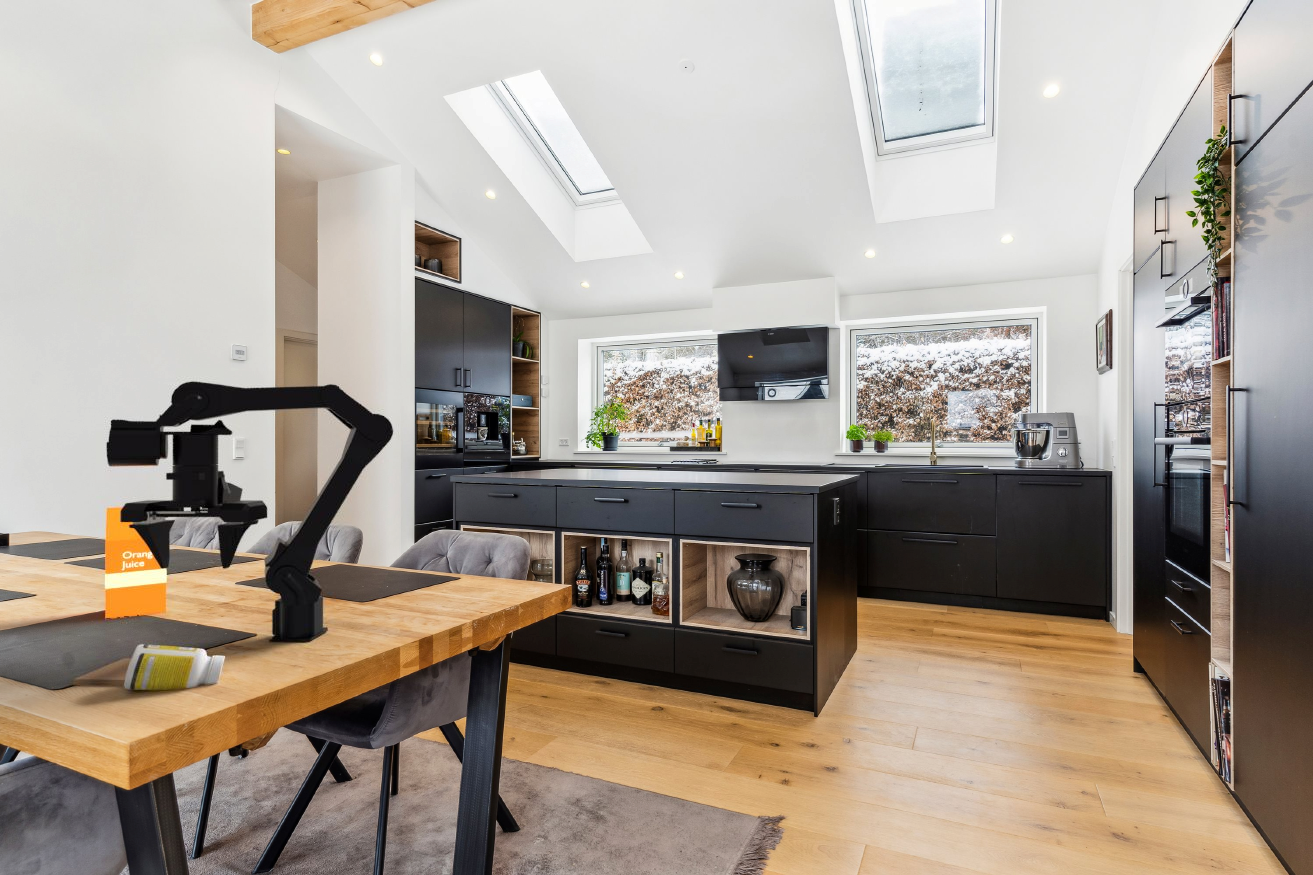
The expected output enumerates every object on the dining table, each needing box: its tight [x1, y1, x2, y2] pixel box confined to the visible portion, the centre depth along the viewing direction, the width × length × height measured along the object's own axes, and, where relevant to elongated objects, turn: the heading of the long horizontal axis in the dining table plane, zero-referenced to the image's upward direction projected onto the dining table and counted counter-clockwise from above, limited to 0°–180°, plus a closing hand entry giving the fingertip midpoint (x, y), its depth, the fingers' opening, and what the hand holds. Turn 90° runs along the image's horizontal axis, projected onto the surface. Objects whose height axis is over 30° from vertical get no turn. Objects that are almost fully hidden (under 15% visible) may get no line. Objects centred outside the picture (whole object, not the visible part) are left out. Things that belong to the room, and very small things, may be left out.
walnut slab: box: [72, 657, 132, 687], centre depth 89 cm, size 8×8×2 cm
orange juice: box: [104, 506, 167, 620], centre depth 124 cm, size 8×9×20 cm
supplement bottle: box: [123, 643, 226, 691], centre depth 86 cm, size 5×5×10 cm
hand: (195, 568), depth 101 cm, fingers open, 9 cm apart
